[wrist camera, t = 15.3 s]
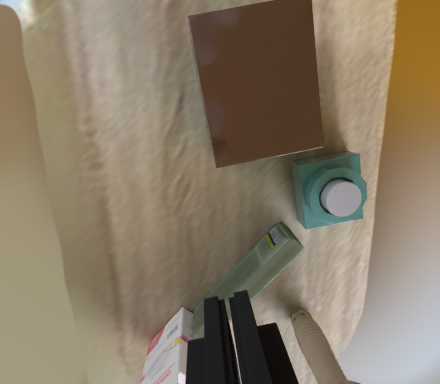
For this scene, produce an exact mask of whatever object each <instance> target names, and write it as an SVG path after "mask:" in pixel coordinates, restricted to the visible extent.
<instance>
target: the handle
mask: <svg viewBox="0 0 440 384" xmlns="http://www.w3.org/2000/svg"><path fill="white" fill-rule="evenodd" d="M291 317H292V326H293V328H294V332H295V336H296V339H297V342H298V344H299V346H300V349H301V351H302V353H303V355H304V357H305V359H306V360H307V362H308V364H309V366H310V368H311V370H312V372H313V374H314V376H315V378H316V380H317V382H318V384H359V383H356V382H353V381H348V380H347V379H346V377H345V375H344V374H343V371H342V370H341V367H340V366H339V364H338V361H337V359H336V357H335V355H334V353H333V351H332V349H331V347H330V345H329V343H328V340H327V339H326V337H325V335H324V333H323V332H322V330H321V329H320V327H319V326H318V324H317V323H316V322H315V320H314V319H313V317H312V316H311V314H310V313H309V312H305V311H303V310H302V309H300V310H298V311H297V312H296V313H293V314H292V316H291Z"/></svg>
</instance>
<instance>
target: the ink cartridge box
mask: <svg viewBox="0 0 440 384" xmlns="http://www.w3.org/2000/svg"><path fill="white" fill-rule="evenodd" d="M193 316H194V314H193V313H191V312H190V311H188V310H187V309H185V308H183V307H182V308H181V309H180V310H179V311H178V312H177V313H176V315H175V316H174V317H173V318H172V319H171V320H170V321H169V322H168V323H167V324H166V325H165V326H164V327H163V329H162V330H161V331H160V332H159V333H158V334H157V335H156V336H155V337H154V338H153V339H152V341H151V342H150V343H149V347H148V352H147V357H146V361H145V366H144V370H143V375H142V379H141V384H185V381H186V362H187V345H188V341H189V340H192V330H193V328H192V326H193Z"/></svg>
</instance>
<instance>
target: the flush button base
mask: <svg viewBox="0 0 440 384" xmlns="http://www.w3.org/2000/svg"><path fill="white" fill-rule="evenodd" d="M291 164H292V173H293V181H294V190H295V198H296V207H297V216H298V222H299V223H300V224H301V225H302V226H303V227H304V228H305V229H306V230H307V229H312V228H317V227H322V226H327V225H332V224H338V223H343V222H347V221H352V220H357V219H362V218H363V210H362V207H363V205H364V203H365V201H366V199H367V189H366V183H365V181H364V180H363V179H362V177H361V170H360V154H359V153H354V152H350V151H344V152H339V153H333V154H328V155H323V156H318V157H313V158H308V159H303V160H298V161H293V162H291ZM335 179H344V180H346V181H349V182H351V183H353V184H355V185H356V186H357V187H358V188H359V190H360V192H361V202H360V205H359V207H358V208H357V209H356V211H354V212H353V213H352V214H350V215H348V216H344V217H339V216H335V215H333V214H332V213H330V212H329V211H327V210H326V209H325V208H324V207H323V206H322V204H321V200H320V196H321V192H322V190H323V188H324V186H325V185H326V184H327V183H329V182H330V181H332V180H335Z"/></svg>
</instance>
